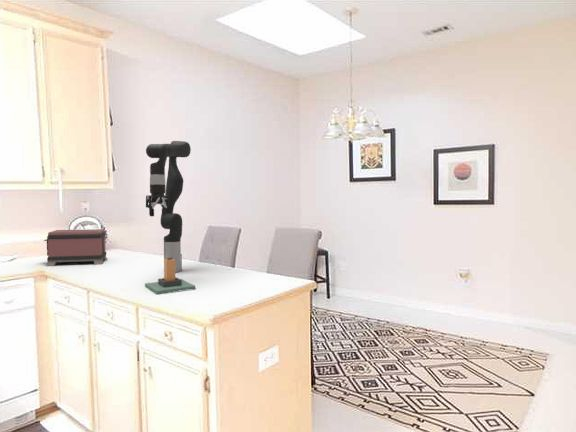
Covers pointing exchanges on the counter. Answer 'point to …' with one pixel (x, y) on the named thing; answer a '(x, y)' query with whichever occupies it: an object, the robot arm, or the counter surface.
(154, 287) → the board
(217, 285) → the counter surface
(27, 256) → the counter surface
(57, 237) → the reddish brown chest
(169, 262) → the plug
